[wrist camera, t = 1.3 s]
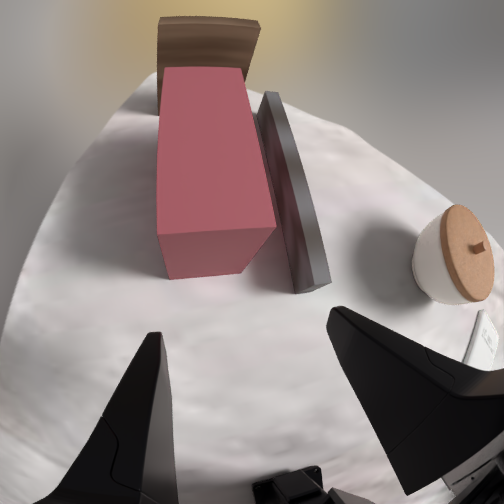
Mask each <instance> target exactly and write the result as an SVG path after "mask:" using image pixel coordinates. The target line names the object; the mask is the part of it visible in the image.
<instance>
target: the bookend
mask: <svg viewBox="0 0 504 504" xmlns="http://www.w3.org/2000/svg"><path fill="white" fill-rule="evenodd" d="M260 30H261V27H260V25H259V23H258V21H256V20H247V19H238V18H226V17H206V16H180V17H179V16H178V17H177V16H176V17H160V20H159V23H158V38H157V39H158V41H157V97H158V116H160V105H161V95H162V86H163V77H164V69H165V68H166V67H229V68H241V71H242V75H243V79H244V83H245V80H246V76H247V73H248V70H249V66H250V62H251V59H252V56H253V53H254V49H255V46H256V43H257V40H258V37H259V33H260ZM257 119H258V123H259V127H260V131H261V135H262V139H263V143H264V148H265V152H266V156H267V160H268V165H269V169H270V174H271V178H272V182H273V187H274V191H275V196H276V201H277V205H278V210H279V215H280V219H281V224H282V229H283V234H284V239H285V244H286V249H287V254H288V259H289V264H290V269H291V274H292V280H293V285H294V291H295V294H301V293H307V292H312V291H314V290H316V289H318V288H321V287H323V286H325V285H327V284H330V283H332V281H331V277H330V272H329V267H328V263H327V258H326V254H325V250H324V245H323V241H322V237H321V233H320V229H319V225H318V221H317V217H316V213H315V209H314V205H313V202H312V198H311V194H310V191H309V187H308V183H307V180H306V176H305V173H304V170H303V166H302V163H301V160H300V156H299V153H298V150H297V147H296V143H295V140H294V137H293V134H292V131H291V128H290V125H289V122H288V119H287V116H286V113H285V110H284V107H283V104H282V102H281V99H280V96H279V93H278V92H270V91H265V93H264V96H263V99H262V102H261V104H260V107H259V110H258V113H257Z"/></svg>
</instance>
